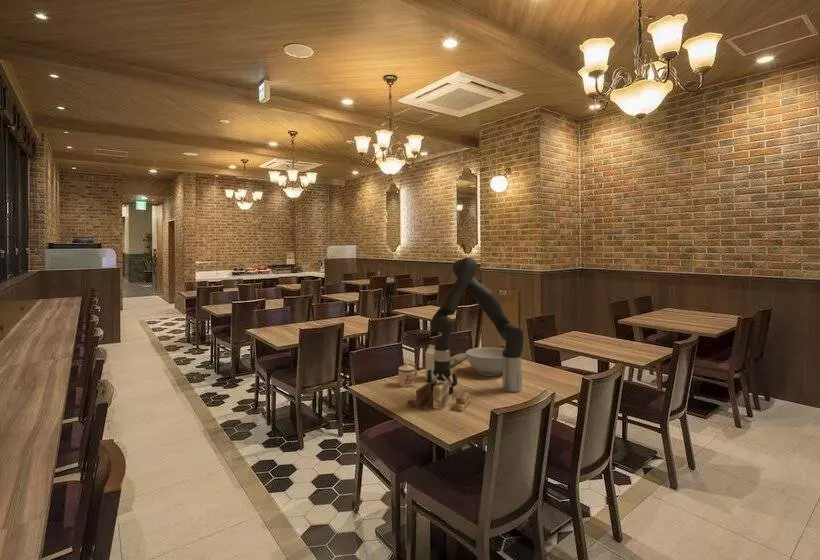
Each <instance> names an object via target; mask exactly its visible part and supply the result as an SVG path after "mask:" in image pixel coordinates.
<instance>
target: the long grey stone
mask: <svg viewBox="0 0 820 560" xmlns="http://www.w3.org/2000/svg"><path fill="white" fill-rule="evenodd" d="M465 360H467V356H466V352H463V353H462V352H460V353H457V354H455V355H453V356H450V369H451V368H453V366H454V367H457V365H459V364H460V363H462V362H463V361H465ZM461 361H462V362H461ZM459 362H460V363H459ZM458 363H459V364H458Z"/></svg>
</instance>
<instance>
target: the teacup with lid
mask: <svg viewBox="0 0 820 560" xmlns="http://www.w3.org/2000/svg"><path fill="white" fill-rule="evenodd" d="M397 371H398V386H399V387H403V388H410V386H411V387H413V385H414V386H415V384H416V377H417V376H418V371H417V369H416V368H415V366H413V365H410V364H409V362H404V364H403V365H401V366H399V367H398V368H397Z"/></svg>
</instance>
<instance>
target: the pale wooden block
mask: <svg viewBox="0 0 820 560" xmlns="http://www.w3.org/2000/svg"><path fill="white" fill-rule="evenodd" d="M451 381H452V382H453V378H451ZM449 387H450V386H449V385H448V383H446V381H438V382H437V384H436V385H435V386H433V404H432V406H433V409H437V410H441V409H443V408H444V407H446V405H447V404H448V403H449V402H450V401H452V400H453V398H452V397H453V393H452V394H451V395H449Z"/></svg>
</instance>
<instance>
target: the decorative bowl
mask: <svg viewBox="0 0 820 560" xmlns="http://www.w3.org/2000/svg"><path fill="white" fill-rule="evenodd" d="M504 349H505V348H499V347H490V346H488V347H485V346H484V347H474V348H470V349H468V350H466V351H465V353H466V356H467V358H466V360H467V361H468V363H469V364H470V366H471V367H472V368H473V369H474V370H475V371H477V372H478V374H479V375H481V376H485V377H486V376H488V377H495V376H499V375H500V374H501V372H503V350H504Z"/></svg>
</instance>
